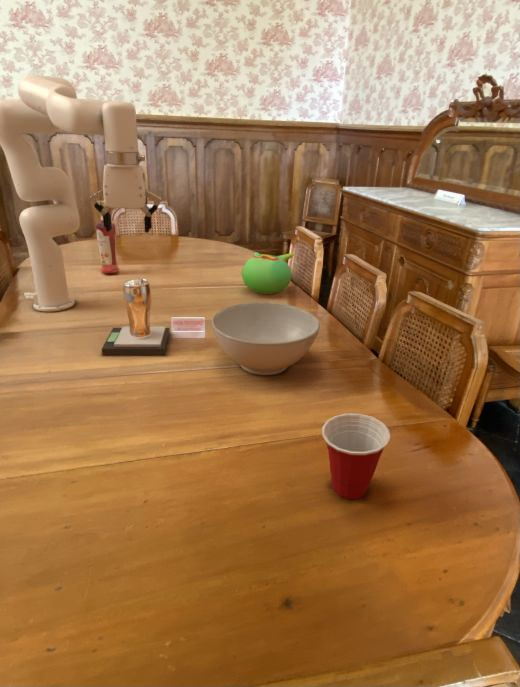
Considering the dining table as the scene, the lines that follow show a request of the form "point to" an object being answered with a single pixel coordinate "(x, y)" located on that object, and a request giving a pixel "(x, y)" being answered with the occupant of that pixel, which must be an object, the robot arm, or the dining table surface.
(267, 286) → the green round pot
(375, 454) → the plastic cup
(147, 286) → the beer glass
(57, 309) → the robot arm
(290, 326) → the decorative bowl
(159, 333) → the scale
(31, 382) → the dining table surface
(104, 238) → the liquor
